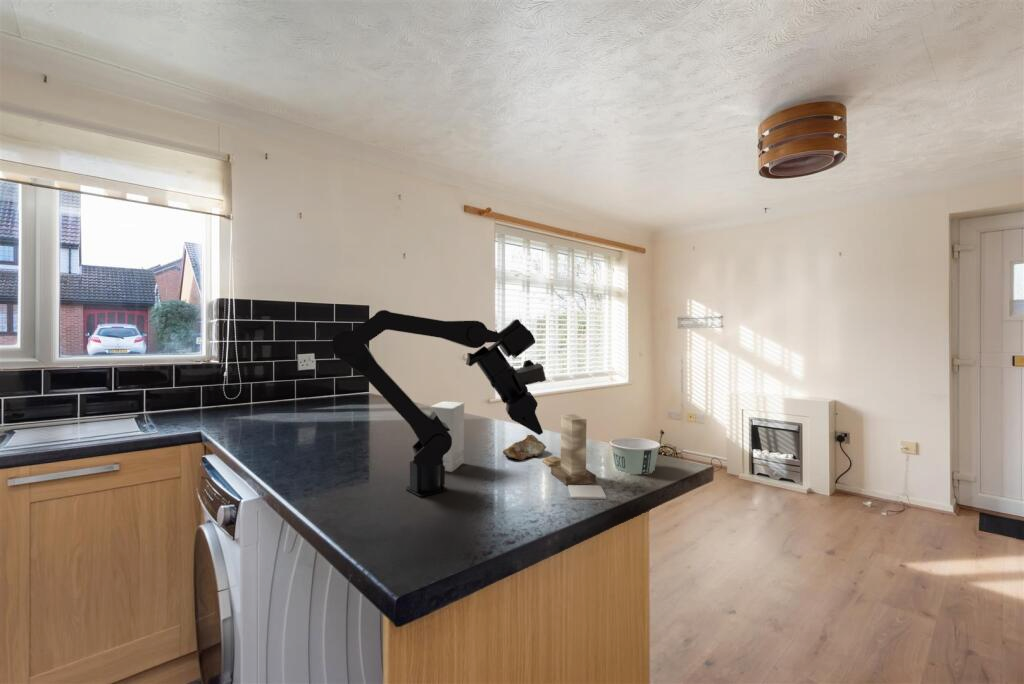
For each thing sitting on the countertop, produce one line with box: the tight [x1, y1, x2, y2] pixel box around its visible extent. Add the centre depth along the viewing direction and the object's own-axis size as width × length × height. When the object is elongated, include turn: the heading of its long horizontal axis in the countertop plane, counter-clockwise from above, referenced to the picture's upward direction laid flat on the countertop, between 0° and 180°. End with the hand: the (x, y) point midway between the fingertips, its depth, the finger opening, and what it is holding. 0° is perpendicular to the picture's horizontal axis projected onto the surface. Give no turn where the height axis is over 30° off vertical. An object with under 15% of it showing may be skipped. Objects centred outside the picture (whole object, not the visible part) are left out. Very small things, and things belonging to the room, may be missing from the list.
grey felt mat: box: [567, 484, 607, 500], centre depth 97 cm, size 7×7×1 cm
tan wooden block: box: [560, 413, 587, 476], centre depth 106 cm, size 4×6×14 cm, turn 16°
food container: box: [609, 437, 662, 475], centre depth 114 cm, size 12×12×7 cm
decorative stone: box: [502, 434, 547, 461], centre depth 127 cm, size 10×4×15 cm
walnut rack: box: [550, 466, 597, 486], centre depth 107 cm, size 7×9×2 cm
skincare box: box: [428, 401, 465, 473], centre depth 115 cm, size 8×7×16 cm
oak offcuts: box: [542, 455, 561, 468], centre depth 118 cm, size 4×5×1 cm
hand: (537, 427), depth 104 cm, fingers open, 9 cm apart
